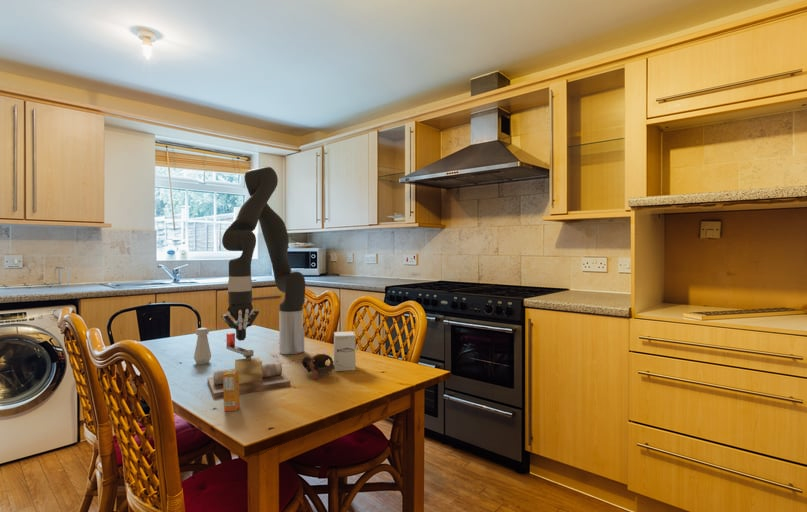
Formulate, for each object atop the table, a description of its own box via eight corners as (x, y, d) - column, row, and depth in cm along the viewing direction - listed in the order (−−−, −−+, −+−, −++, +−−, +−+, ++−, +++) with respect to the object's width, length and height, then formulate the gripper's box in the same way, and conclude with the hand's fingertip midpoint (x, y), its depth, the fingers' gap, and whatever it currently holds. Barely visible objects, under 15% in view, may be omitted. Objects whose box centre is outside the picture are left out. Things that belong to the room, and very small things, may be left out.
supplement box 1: (226, 407, 115) (226, 370, 115) (239, 406, 115) (239, 370, 115) (222, 411, 112) (222, 374, 112) (236, 411, 112) (236, 373, 112)
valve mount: (277, 372, 147) (277, 347, 146) (290, 385, 133) (290, 358, 133) (207, 382, 135) (207, 355, 135) (214, 398, 122) (213, 368, 121)
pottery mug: (337, 372, 148) (339, 355, 144) (326, 392, 140) (328, 375, 136) (306, 362, 150) (307, 345, 146) (293, 381, 142) (293, 363, 138)
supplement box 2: (334, 372, 147) (334, 335, 147) (333, 365, 155) (333, 331, 154) (355, 370, 149) (355, 335, 149) (353, 364, 156) (353, 330, 156)
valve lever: (255, 355, 134) (255, 339, 134) (246, 357, 132) (246, 340, 132) (233, 347, 144) (233, 332, 144) (224, 349, 142) (224, 333, 142)
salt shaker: (214, 361, 160) (214, 326, 159) (205, 365, 154) (205, 330, 154) (199, 360, 160) (199, 326, 160) (190, 365, 155) (190, 329, 154)
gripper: (252, 286, 151) (252, 335, 152) (215, 290, 141) (216, 342, 141) (263, 288, 146) (264, 338, 147) (227, 292, 136) (228, 345, 137)
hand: (241, 340), depth 144 cm, fingers closed
